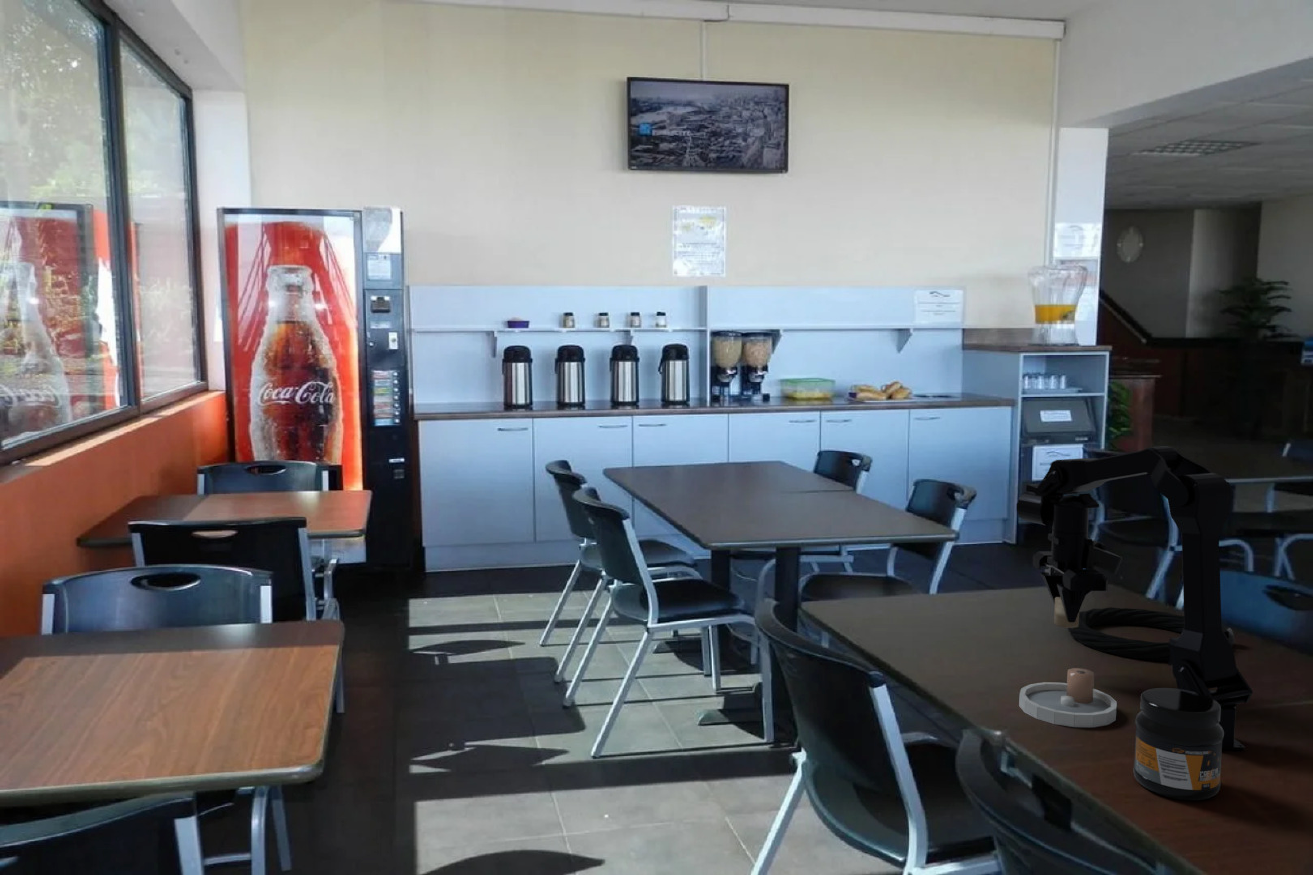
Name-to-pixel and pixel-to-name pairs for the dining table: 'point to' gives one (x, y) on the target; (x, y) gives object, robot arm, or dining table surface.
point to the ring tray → (1066, 706)
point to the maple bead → (1063, 616)
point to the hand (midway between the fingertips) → (1066, 618)
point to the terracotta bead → (1080, 685)
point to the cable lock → (1129, 646)
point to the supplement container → (1178, 744)
